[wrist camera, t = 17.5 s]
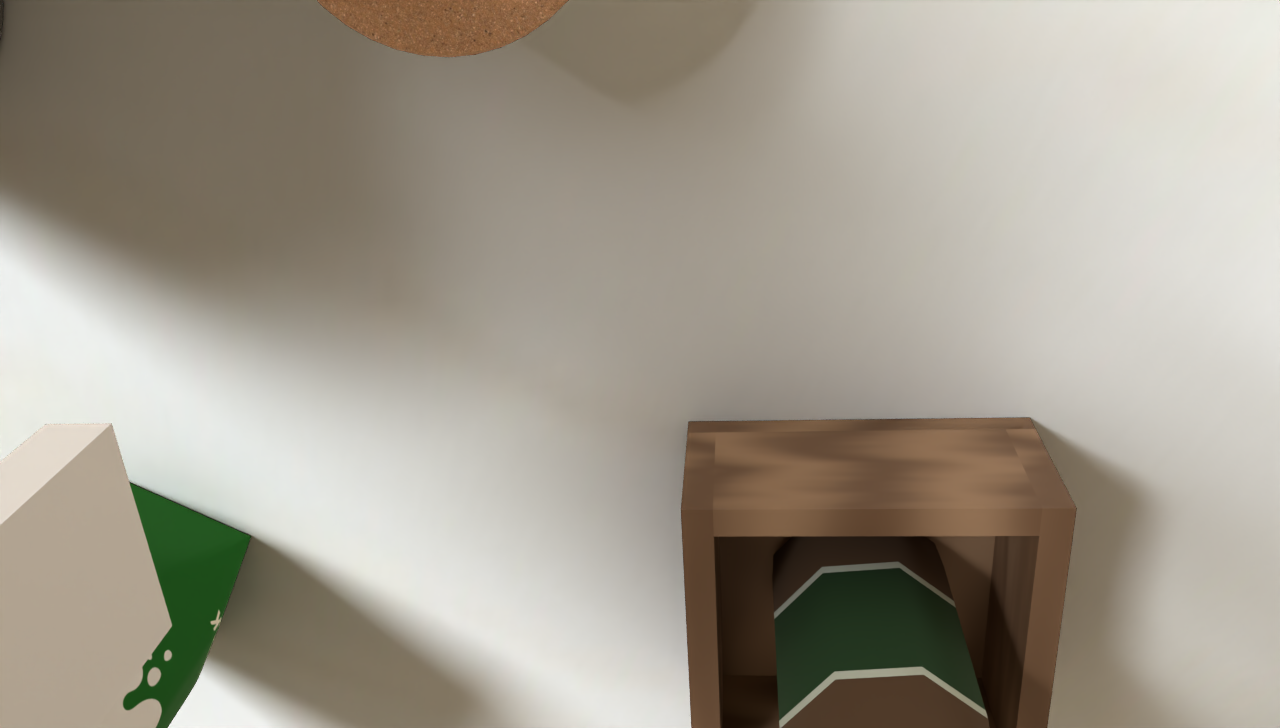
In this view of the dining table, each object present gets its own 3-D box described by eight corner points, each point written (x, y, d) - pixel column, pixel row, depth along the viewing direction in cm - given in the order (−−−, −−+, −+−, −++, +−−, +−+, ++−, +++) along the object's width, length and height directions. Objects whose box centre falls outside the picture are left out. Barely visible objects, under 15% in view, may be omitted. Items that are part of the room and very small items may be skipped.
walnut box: (699, 679, 53) (694, 791, 47) (688, 421, 47) (680, 509, 41) (1000, 683, 52) (1037, 798, 45) (1029, 417, 46) (1076, 508, 39)
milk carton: (96, 450, 50) (-263, 785, 32) (278, 530, 51) (30, 897, 33) (55, 583, 54) (-288, 952, 36) (226, 656, 55) (-24, 1048, 37)
